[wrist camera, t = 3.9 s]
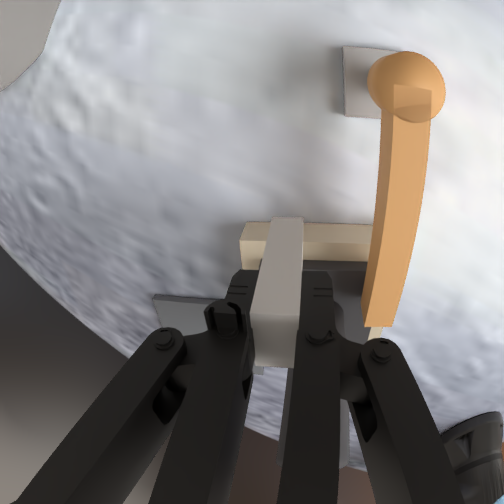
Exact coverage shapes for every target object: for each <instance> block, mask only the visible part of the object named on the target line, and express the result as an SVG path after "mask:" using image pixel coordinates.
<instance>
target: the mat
mask: <svg viewBox="0 0 504 504" xmlns="http://www.w3.org/2000/svg"><path fill="white" fill-rule="evenodd" d="M152 300H153V302H154V305H155V308H156V311H157V314H158V317H159V320H160V322H161V325H162V328H165V327H171V328H176V329H177V330H179V331H180V332H181V333H182V335H183V336H186V335H193V334H198V333H202V332H205V331H207V330H208V329H207V325H206V320H205V316H204V312H203V311H204V310H205V308H206V307H207V306H208V305H209V304H211V303H212V302H215V301H218V300H213V299H200V298H187V297H175V296H164V295H155V296H154V298H153V299H152ZM263 372H264V366H255V360H254V365H253V374H258V375H263Z"/></svg>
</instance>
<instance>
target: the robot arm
mask: <svg viewBox="0 0 504 504" xmlns="http://www.w3.org/2000/svg"><path fill="white" fill-rule="evenodd" d="M302 266H303V217H272V219H271V224H270V228H269V232H268V237H267V241H266V245H265V250H264V254H263V258H262V263H261V267H260V270H244V269H240V270H239V271H238V272H237V273H236V274H235V275H234V276H233V277H232V280H231V283H230V287H229V288H228V291H227V294H226V297H225V299H221V300H218V301H215V302H212V303H211V304H209V305H208V306H207V307H206V308H205V310H204V311H203V312H204V316H205V320H206V325H207V329H208V330H207V331H205V332H202V333H198V334H193V335H186V336H183V335H182V333H181V332H180V331H179V330H177V329H176V328H171V327H165V328H160V329H158V330H155V331H154V332H152V333H151V334H150V335H149V336H148V337H147V338H146V340H145V341H144V342H143V343H142V344H141V346H140V347H139V348H138V349H137V350H136V351H135V353H134V354H133V355H132V356H131V357H130V359H129V360H128V361H127V362H126V363H125V365H124V366H123V367H122V368H121V370H120V371H119V372H118V373H117V374H116V375H115V377H114V378H113V379H112V380H111V381H110V383H109V384H108V385H107V386H106V388H105V389H104V390H103V391H102V392H101V394H100V395H99V396H98V397H97V399H96V400H95V401H94V402H93V403H92V405H91V406H90V407H89V408H88V410H87V411H86V412H85V413H84V415H83V416H82V417H81V418H80V420H79V421H78V422H77V423H76V424H75V426H74V427H73V428H72V429H71V431H70V432H69V433H68V435H67V436H66V437H65V438H64V440H63V441H62V442H61V443H60V445H59V446H58V447H57V449H56V450H55V451H54V452H53V453H52V455H51V456H50V457H49V459H48V460H47V461H46V462H45V464H44V465H43V466H42V468H41V469H40V470H39V471H38V473H37V474H36V476H35V477H34V478H33V479H32V481H31V482H30V483H29V485H28V486H27V487H26V489H25V490H24V491H23V492H22V494H21V495H20V497H19V498H18V499H17V500H16V501H14V502H13V503H11V504H123V502H124V501H125V499H126V498H127V496H128V495H129V494H130V492H131V491H132V489H133V488H134V486H135V485H136V483H137V482H138V480H139V479H140V478H141V476H142V475H143V473H144V472H145V470H146V469H147V467H148V466H149V464H150V463H151V461H152V460H153V458H154V457H155V455H156V454H157V452H158V451H159V449H160V448H161V446H162V445H163V443H164V442H165V440H166V439H167V437H168V436H169V434H170V433H171V431H172V430H173V431H172V434H171V437H170V440H169V443H168V446H167V449H166V452H165V455H164V458H163V461H162V464H161V467H160V470H159V473H158V476H157V479H156V482H155V485H154V488H153V491H152V494H151V497H150V500H149V503H148V504H227V503H228V499H229V494H230V490H231V485H232V481H233V476H234V471H235V466H236V462H237V457H238V453H239V448H240V443H241V438H242V433H243V428H244V423H245V419H246V414H247V409H248V403H249V398H250V393H251V388H252V383H253V365H254V360H255V366H266V367H281V368H294V369H293V380H292V390H291V399H290V408H289V417H288V426H287V434H286V442H285V450H284V457H283V464H282V472H281V479H280V485H279V492H278V498H277V504H337V496H338V481H339V460H340V399H343V400H347V403H348V406H349V409H350V413H351V416H352V419H353V422H354V426H355V429H356V433H357V436H358V439H359V443H360V446H361V450H362V453H363V457H364V460H365V464H366V467H367V471H368V475H369V478H370V482H371V486H372V489H373V493H374V497H375V500H376V504H504V462H503V457H502V451H501V447H502V437H503V419H502V415H501V413H499V412H491V413H487V414H483V415H480V416H477V417H474V418H472V419H470V420H467V421H465V422H463V423H461V424H459V425H457V426H455V427H454V428H452V429H450V430H449V431H447V432H446V433H444V434H443V435H442V436H441V437H440V434H439V432H438V429H437V427H436V425H435V422H434V420H433V418H432V415H431V413H430V411H429V409H428V406H427V404H426V402H425V400H424V398H423V395H422V393H421V391H420V389H419V387H418V385H417V383H416V380H415V378H414V376H413V374H412V372H411V370H410V368H409V366H408V364H407V362H406V360H405V358H404V356H403V354H402V352H401V350H400V348H399V347H398V346H397V345H396V344H395V343H394V342H392V341H391V340H389V339H385V338H373V339H371V340H368V341H367V342H366V343H365V344H364V345H363V344H359V343H356V342H352V341H350V340H347V339H346V338H344V337H343V336H342V335H341V334H340V333H339V332H338V331H337V329H336V325H335V312H334V298H333V285H332V278H331V277H330V276H329V274H328V273H327V272H326V271H302Z"/></svg>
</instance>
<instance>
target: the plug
mask: <svg viewBox="0 0 504 504" xmlns="http://www.w3.org/2000/svg"><path fill="white" fill-rule="evenodd" d="M261 263H262V259H261V261H260V265H259V270H260V267H261ZM367 264H368V262H364V261H327V260H303V266H302V271H326V272H327V273H328V274H329V276H330V277H331V278H332V285H333V298H334V312H335V325H336V329H337V331H338V332H339V333H340V334H341V335H342V336H343V337H344V338H346V339H347V340H350V341H352V342H356V343H359V344H363V345H364V344H365V343H366V342H367V341H368V337H369V334H370V330H371V327H364V322H363V316H362V309H361V303H360V302H361V297H362V292H363V287H364V281H365V276H366V270H367ZM293 369H294V368H288V373H287V382H286V391H285V399H284V407H283V415H282V422H281V430H280V437H279V445H278V451H277V458H276V463H277V465H279V466H280V467H282V464H283V457H284V450H285V442H286V434H287V426H288V417H289V408H290V399H291V390H292V380H293ZM348 463H349V406H348V403H347V400H343V399H340V460H339V469H340V468H342V467H344V466H346V465H347V464H348Z"/></svg>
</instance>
